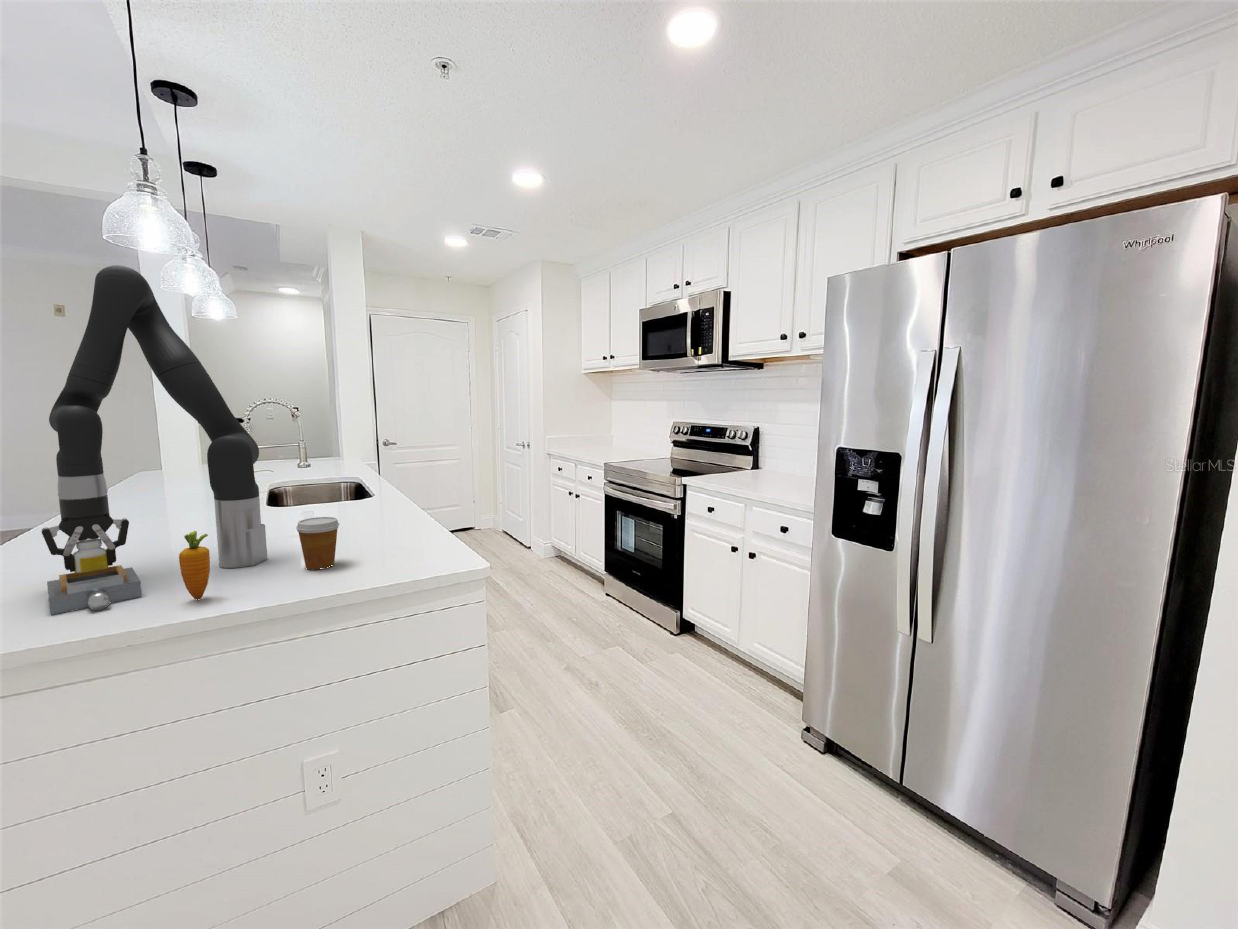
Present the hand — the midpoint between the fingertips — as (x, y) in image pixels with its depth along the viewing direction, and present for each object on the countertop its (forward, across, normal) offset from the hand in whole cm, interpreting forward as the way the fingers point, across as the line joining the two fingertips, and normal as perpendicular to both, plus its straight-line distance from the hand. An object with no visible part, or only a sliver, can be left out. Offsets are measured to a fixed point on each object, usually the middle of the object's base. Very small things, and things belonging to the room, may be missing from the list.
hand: (91, 567), depth 116 cm
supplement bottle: (+4, 0, 0) cm, 4 cm away
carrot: (+4, -14, +29) cm, 33 cm away
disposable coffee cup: (+4, -39, +24) cm, 46 cm away
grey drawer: (+3, 0, +14) cm, 15 cm away
